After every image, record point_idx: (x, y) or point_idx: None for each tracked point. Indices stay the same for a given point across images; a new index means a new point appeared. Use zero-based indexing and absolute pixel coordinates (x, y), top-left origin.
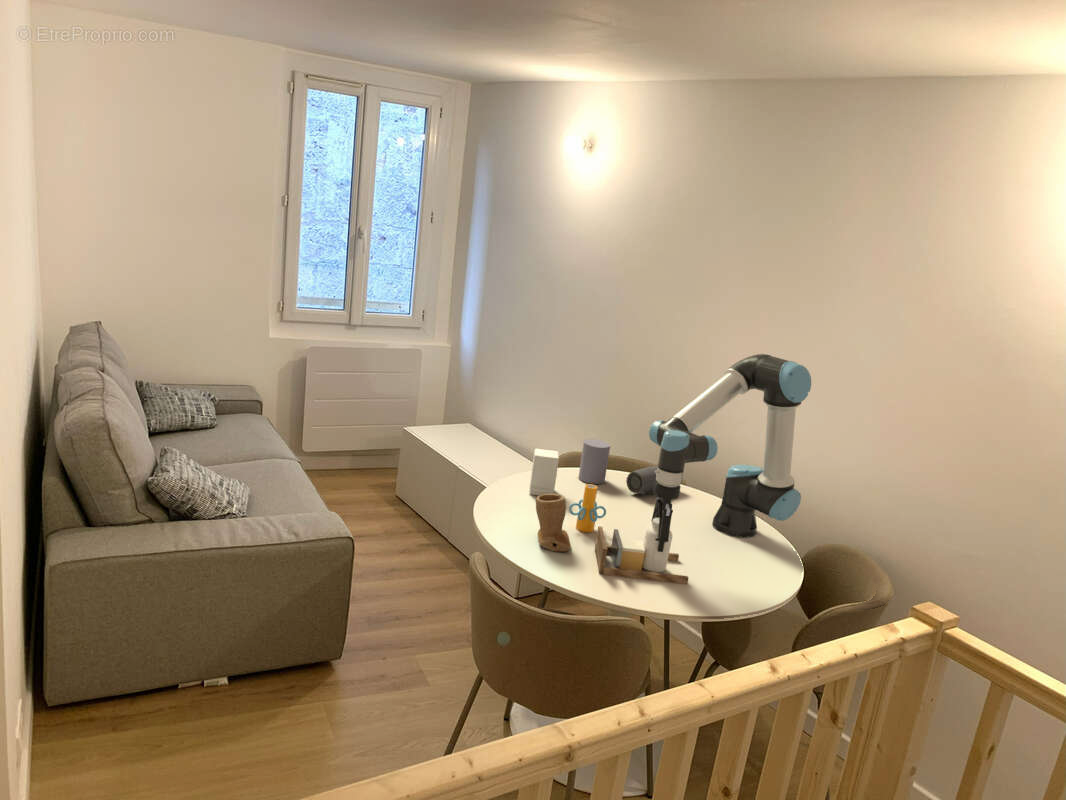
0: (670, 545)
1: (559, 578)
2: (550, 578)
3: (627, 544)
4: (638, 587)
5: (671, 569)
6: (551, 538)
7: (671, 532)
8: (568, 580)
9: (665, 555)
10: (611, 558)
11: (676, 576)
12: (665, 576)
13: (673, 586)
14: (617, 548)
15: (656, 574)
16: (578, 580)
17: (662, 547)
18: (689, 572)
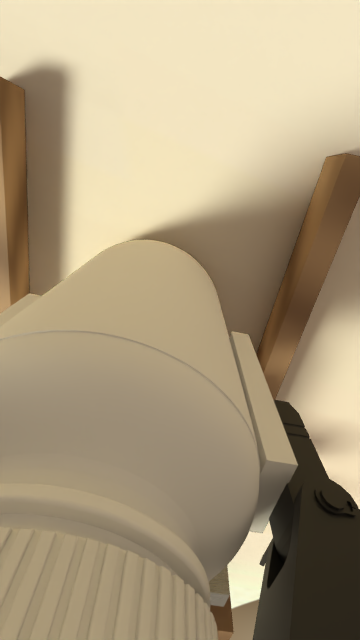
0: (187, 308)
1: (243, 588)
2: (242, 601)
3: None
4: (333, 422)
5: (153, 194)
6: None
7: (104, 385)
8: (256, 576)
9: (223, 321)
10: None
11: (338, 245)
12: (310, 306)
13: (356, 265)
14: None
15: (293, 352)
16: (258, 558)
17: (306, 446)
18: (187, 61)
